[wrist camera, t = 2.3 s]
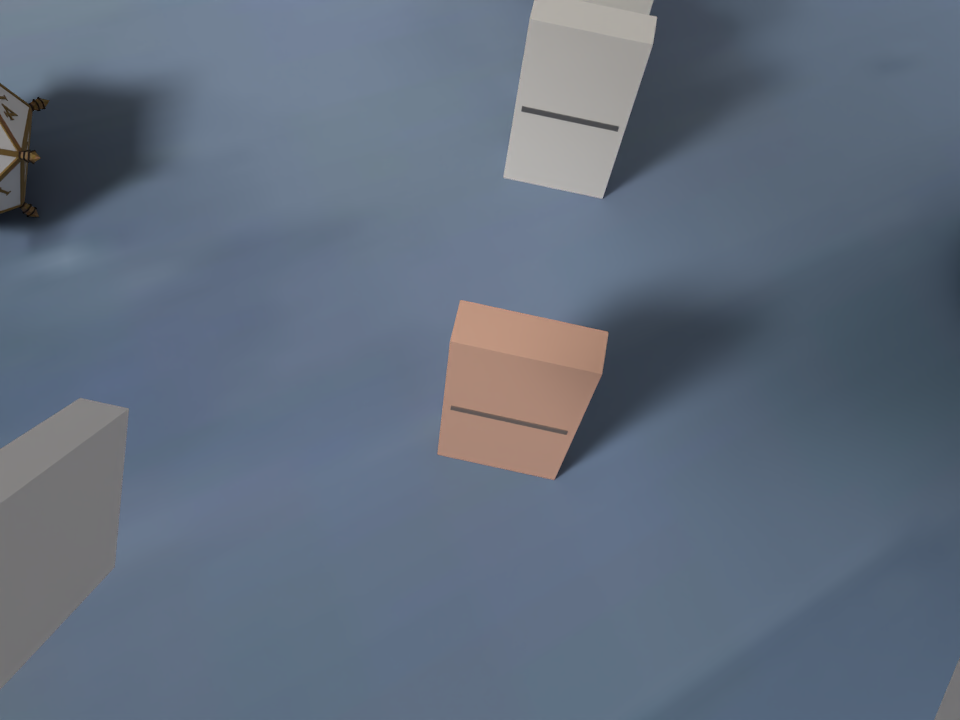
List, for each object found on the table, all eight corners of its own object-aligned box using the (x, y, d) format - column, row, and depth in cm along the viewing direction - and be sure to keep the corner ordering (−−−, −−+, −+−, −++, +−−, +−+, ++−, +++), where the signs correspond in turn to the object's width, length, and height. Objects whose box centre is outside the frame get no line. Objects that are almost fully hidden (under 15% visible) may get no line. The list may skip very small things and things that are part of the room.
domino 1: (602, 199, 45) (652, 45, 37) (503, 178, 46) (529, 19, 37) (606, 173, 46) (657, 16, 37) (509, 152, 46) (536, -10, 37)
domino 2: (554, 481, 38) (601, 375, 30) (437, 455, 39) (449, 342, 30) (560, 444, 39) (608, 330, 30) (446, 419, 39) (460, 298, 30)
